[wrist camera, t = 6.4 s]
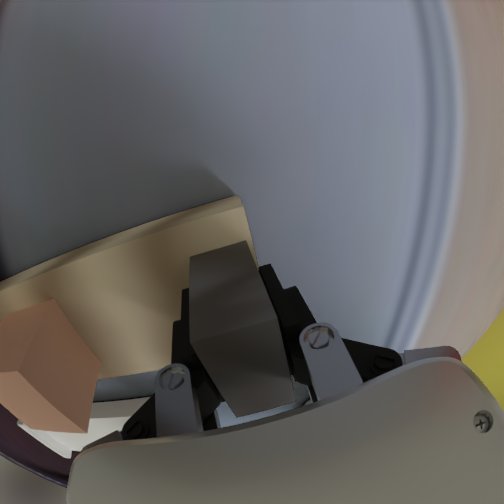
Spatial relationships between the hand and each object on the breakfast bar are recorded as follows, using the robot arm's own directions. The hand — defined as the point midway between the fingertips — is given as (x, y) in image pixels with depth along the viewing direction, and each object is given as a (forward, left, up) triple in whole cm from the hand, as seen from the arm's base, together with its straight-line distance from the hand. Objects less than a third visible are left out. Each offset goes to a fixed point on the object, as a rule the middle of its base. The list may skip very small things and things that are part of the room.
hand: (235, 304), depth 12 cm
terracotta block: (+12, 0, -1) cm, 12 cm away
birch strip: (+9, 0, -3) cm, 9 cm away
